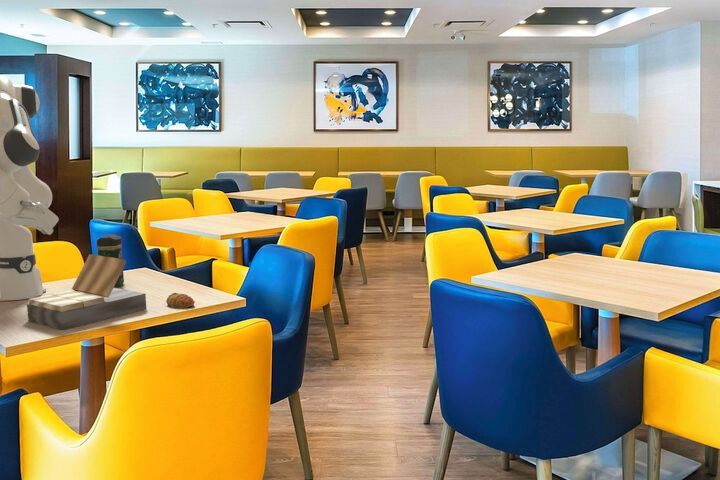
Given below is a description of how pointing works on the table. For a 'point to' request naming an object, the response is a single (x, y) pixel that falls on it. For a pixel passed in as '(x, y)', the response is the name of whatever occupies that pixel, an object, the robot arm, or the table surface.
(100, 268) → the plank
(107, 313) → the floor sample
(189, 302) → the pastry
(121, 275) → the coffee jar
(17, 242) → the robot arm
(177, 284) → the table surface
